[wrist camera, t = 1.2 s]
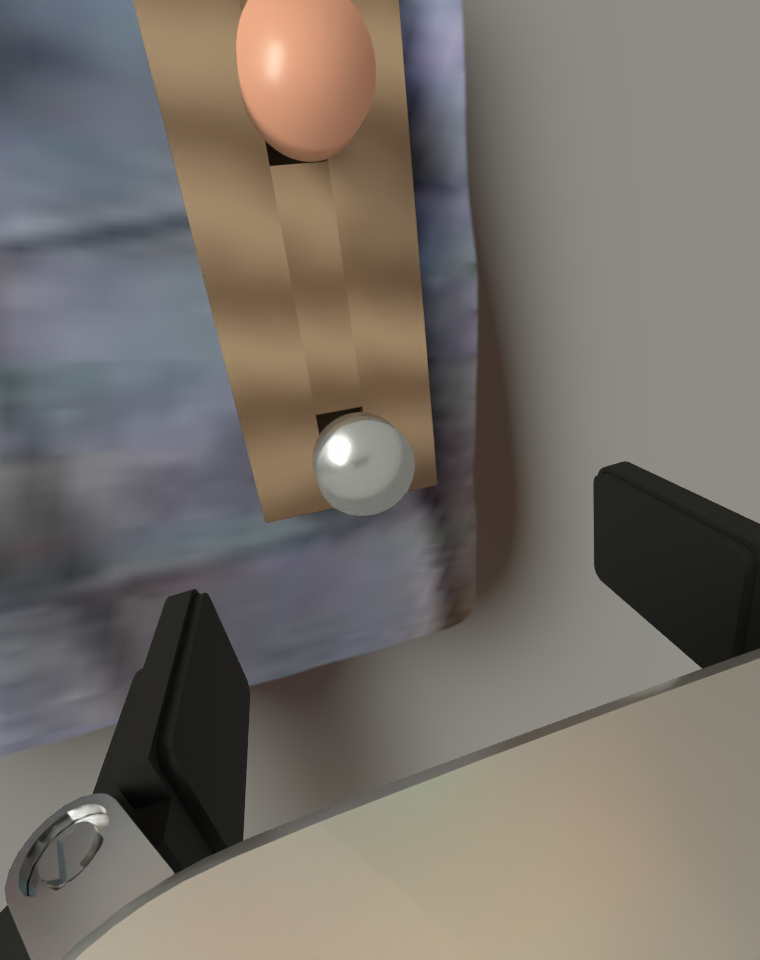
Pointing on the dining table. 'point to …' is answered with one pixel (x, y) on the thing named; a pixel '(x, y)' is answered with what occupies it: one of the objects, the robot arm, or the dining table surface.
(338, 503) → the silver oval piece
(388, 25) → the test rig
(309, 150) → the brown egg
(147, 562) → the dining table surface
